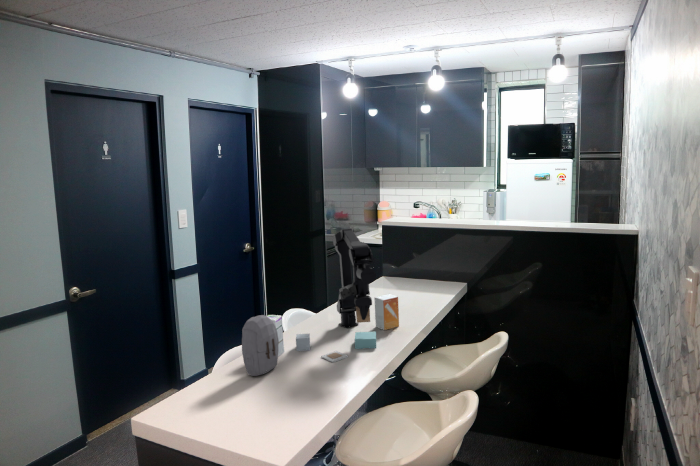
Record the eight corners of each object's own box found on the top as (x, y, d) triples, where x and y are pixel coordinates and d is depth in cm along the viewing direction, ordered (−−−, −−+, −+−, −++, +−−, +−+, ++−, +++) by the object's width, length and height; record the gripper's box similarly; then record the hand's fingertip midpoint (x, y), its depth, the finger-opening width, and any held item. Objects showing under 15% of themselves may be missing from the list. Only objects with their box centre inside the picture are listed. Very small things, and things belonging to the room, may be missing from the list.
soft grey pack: (268, 362, 184) (264, 308, 182) (287, 365, 180) (283, 310, 177) (240, 378, 172) (234, 321, 169) (259, 382, 167) (254, 323, 165)
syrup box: (284, 351, 194) (282, 314, 192) (277, 357, 188) (274, 319, 186) (271, 350, 196) (268, 314, 194) (264, 356, 190) (261, 318, 188)
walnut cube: (356, 318, 198) (355, 306, 197) (369, 317, 198) (368, 305, 197) (357, 322, 193) (356, 309, 192) (370, 321, 193) (369, 309, 192)
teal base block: (356, 342, 201) (355, 332, 200) (376, 341, 200) (375, 331, 200) (355, 349, 193) (354, 339, 192) (376, 348, 192) (375, 338, 192)
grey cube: (297, 346, 199) (296, 334, 198) (310, 345, 199) (309, 333, 198) (296, 351, 194) (295, 338, 193) (309, 350, 194) (309, 337, 193)
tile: (321, 357, 186) (321, 355, 186) (336, 352, 190) (336, 350, 190) (332, 362, 181) (332, 360, 181) (348, 357, 185) (348, 355, 185)
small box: (384, 330, 211) (383, 300, 209) (375, 327, 216) (373, 297, 215) (399, 326, 216) (398, 296, 214) (390, 322, 221) (389, 293, 219)
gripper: (339, 273, 202) (341, 311, 204) (340, 285, 184) (342, 326, 186) (367, 271, 202) (369, 310, 205) (371, 283, 184) (373, 324, 186)
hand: (363, 317), depth 195 cm, fingers closed on walnut cube, 5 cm apart
